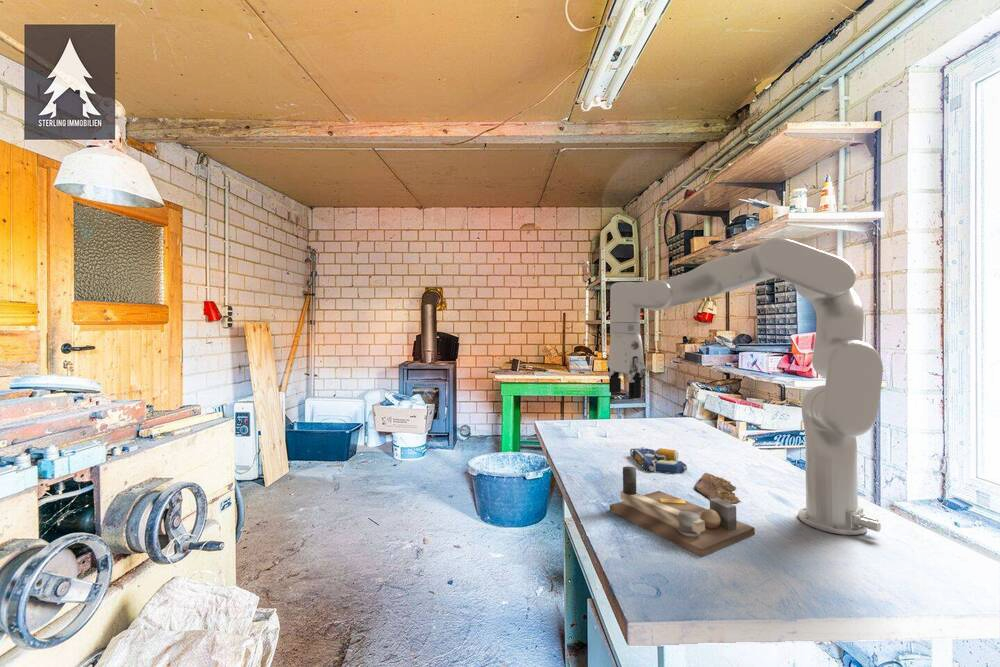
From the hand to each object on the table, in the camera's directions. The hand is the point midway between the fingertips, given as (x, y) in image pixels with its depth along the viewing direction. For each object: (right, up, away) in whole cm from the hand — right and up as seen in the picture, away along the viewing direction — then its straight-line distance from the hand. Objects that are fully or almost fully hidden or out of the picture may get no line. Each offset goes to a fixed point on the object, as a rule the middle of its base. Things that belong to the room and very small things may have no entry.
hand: (624, 395), depth 114 cm
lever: (+4, -26, -13) cm, 29 cm away
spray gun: (+21, -28, +32) cm, 48 cm away
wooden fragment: (+28, -28, +10) cm, 41 cm away
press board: (+9, -28, -11) cm, 32 cm away
